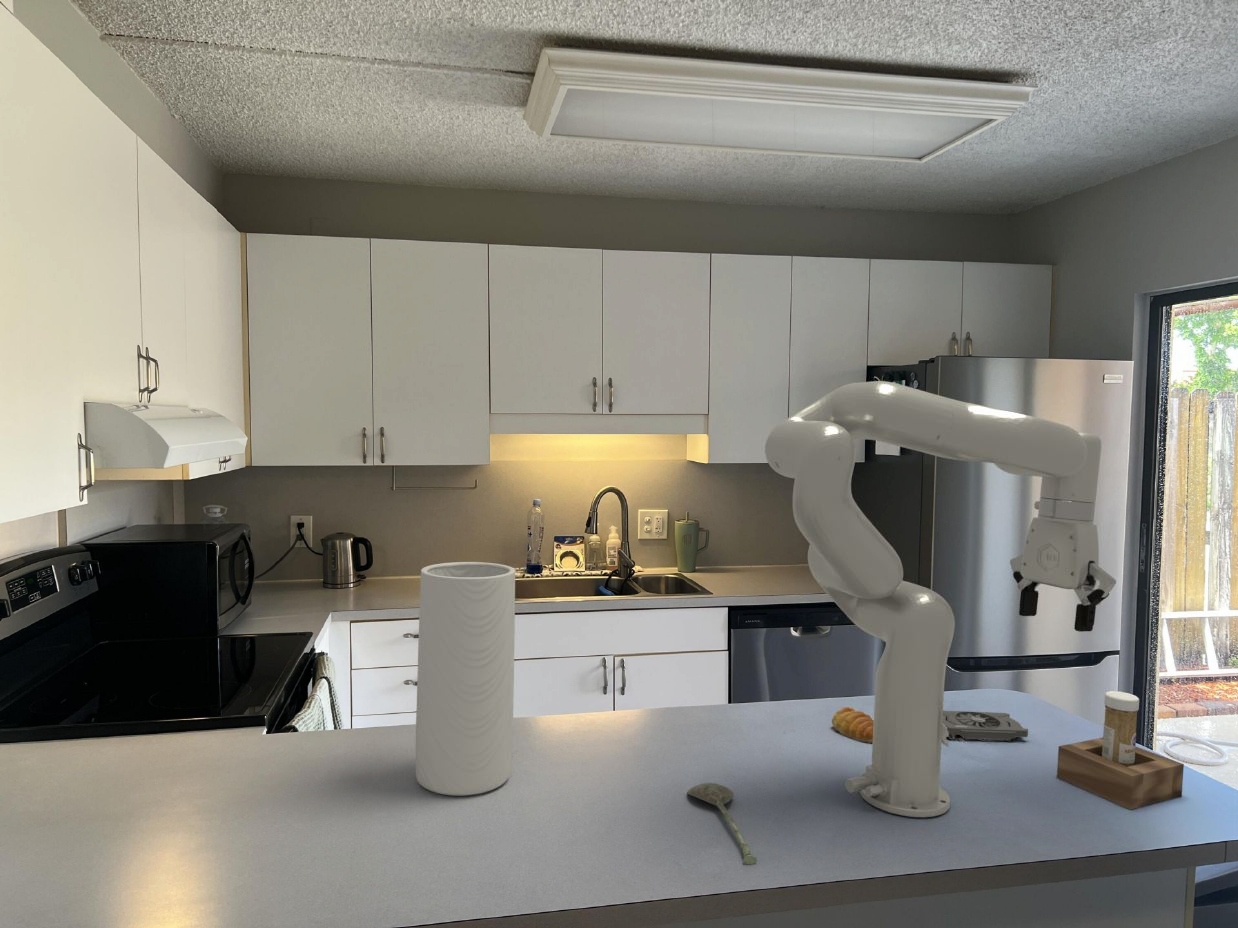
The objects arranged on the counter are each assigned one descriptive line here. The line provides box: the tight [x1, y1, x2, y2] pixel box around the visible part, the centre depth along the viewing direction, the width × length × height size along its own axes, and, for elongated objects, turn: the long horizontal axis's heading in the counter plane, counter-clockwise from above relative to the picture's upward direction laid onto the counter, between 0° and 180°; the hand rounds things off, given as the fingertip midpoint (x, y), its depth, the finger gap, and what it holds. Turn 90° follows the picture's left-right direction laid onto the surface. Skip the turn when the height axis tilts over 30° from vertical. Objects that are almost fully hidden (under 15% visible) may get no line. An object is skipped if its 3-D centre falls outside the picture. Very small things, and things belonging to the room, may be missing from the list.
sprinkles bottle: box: [1102, 690, 1140, 767], centre depth 130 cm, size 5×5×14 cm
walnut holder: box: [1056, 737, 1185, 811], centre depth 130 cm, size 12×12×5 cm
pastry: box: [831, 707, 874, 744], centre depth 149 cm, size 9×7×4 cm
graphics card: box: [941, 710, 1029, 747], centre depth 151 cm, size 17×4×12 cm
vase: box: [414, 561, 516, 797], centre depth 125 cm, size 14×14×32 cm
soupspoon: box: [686, 782, 758, 865], centre depth 114 cm, size 22×3×7 cm
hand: (1054, 622), depth 129 cm, fingers open, 9 cm apart
